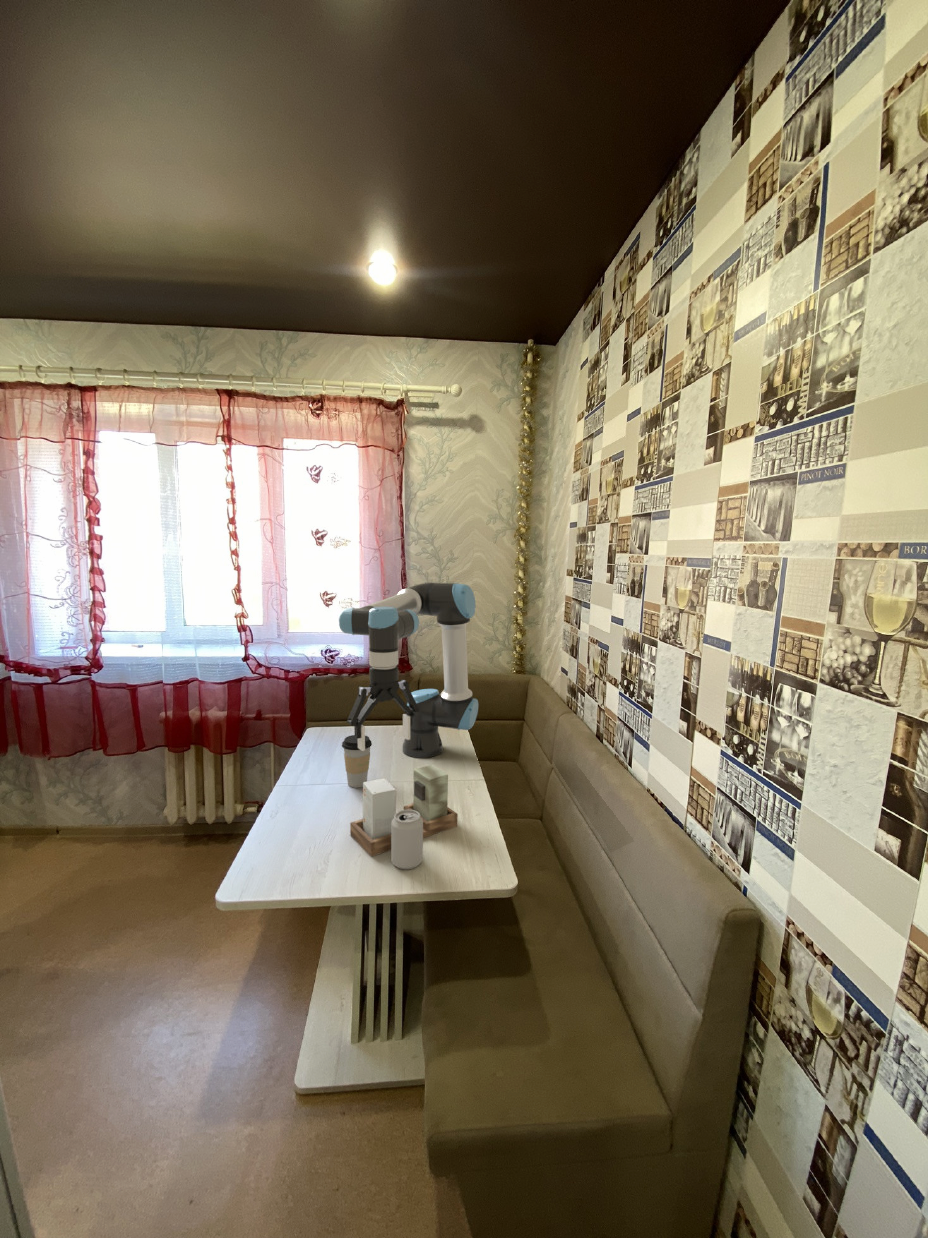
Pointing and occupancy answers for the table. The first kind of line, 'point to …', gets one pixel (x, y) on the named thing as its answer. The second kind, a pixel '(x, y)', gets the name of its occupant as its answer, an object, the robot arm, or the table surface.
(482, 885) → the table surface
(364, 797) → the small box
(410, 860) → the can
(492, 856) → the table surface
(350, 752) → the coffee cup
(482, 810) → the table surface
